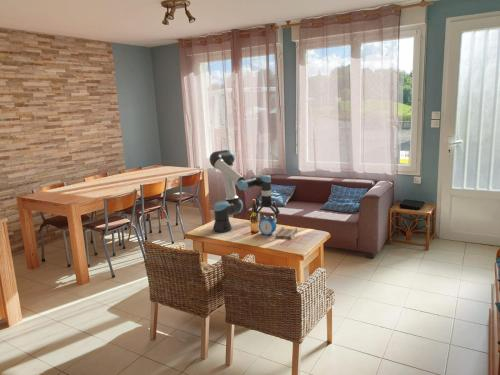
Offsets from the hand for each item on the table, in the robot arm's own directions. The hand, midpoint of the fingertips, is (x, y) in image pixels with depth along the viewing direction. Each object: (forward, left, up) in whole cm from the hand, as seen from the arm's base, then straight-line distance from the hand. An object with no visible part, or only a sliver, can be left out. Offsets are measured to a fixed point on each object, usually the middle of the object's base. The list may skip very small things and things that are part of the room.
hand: (267, 221), depth 317 cm
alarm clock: (0, 0, -10) cm, 10 cm away
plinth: (+15, +2, -10) cm, 18 cm away
